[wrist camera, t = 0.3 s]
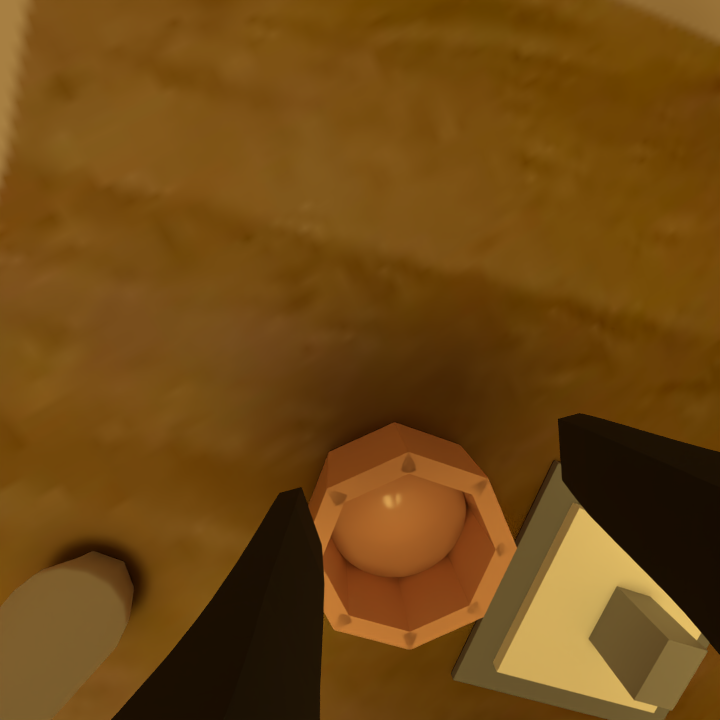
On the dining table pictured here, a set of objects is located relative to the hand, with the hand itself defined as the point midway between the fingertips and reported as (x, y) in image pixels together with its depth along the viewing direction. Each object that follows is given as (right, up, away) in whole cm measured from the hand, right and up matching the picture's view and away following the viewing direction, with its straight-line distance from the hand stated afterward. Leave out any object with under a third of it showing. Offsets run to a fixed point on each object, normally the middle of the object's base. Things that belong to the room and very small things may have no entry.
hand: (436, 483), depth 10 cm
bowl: (0, -6, +11) cm, 13 cm away
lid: (+14, -13, +13) cm, 23 cm away
